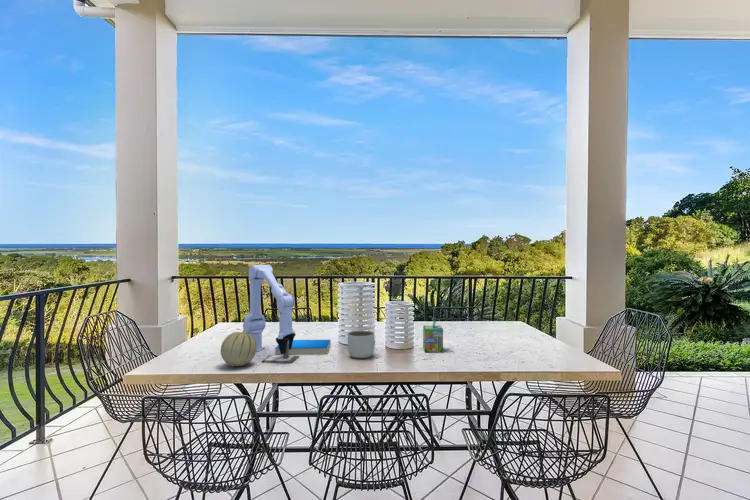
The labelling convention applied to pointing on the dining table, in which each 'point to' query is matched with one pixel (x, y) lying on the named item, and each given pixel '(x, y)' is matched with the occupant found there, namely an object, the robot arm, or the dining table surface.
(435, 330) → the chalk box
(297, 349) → the book
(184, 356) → the dining table surface
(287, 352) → the marker
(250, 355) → the cantaloupe
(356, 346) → the planter
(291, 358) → the clipboard
